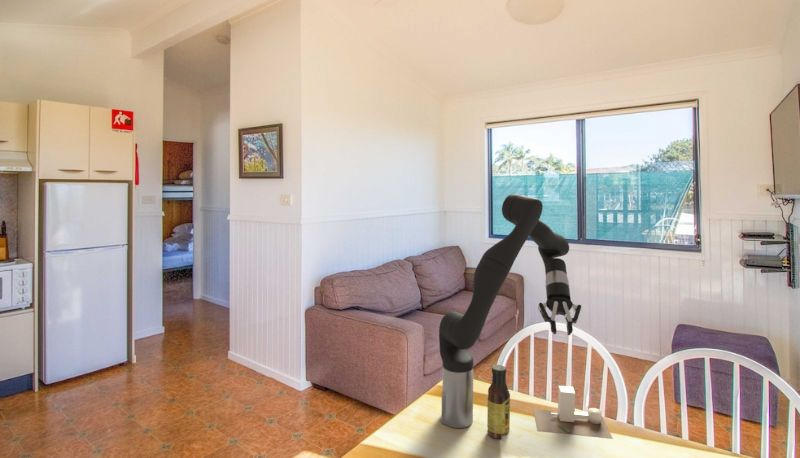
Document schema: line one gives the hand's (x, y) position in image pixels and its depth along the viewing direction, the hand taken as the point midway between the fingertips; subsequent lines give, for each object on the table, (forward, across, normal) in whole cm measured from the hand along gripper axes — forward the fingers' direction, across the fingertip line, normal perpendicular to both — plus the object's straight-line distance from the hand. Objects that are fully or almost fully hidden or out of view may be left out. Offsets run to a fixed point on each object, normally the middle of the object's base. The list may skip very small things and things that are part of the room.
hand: (562, 333), depth 138 cm
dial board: (+26, +1, +8) cm, 27 cm away
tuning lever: (+23, +3, +8) cm, 25 cm away
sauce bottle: (+31, -20, +3) cm, 37 cm away
